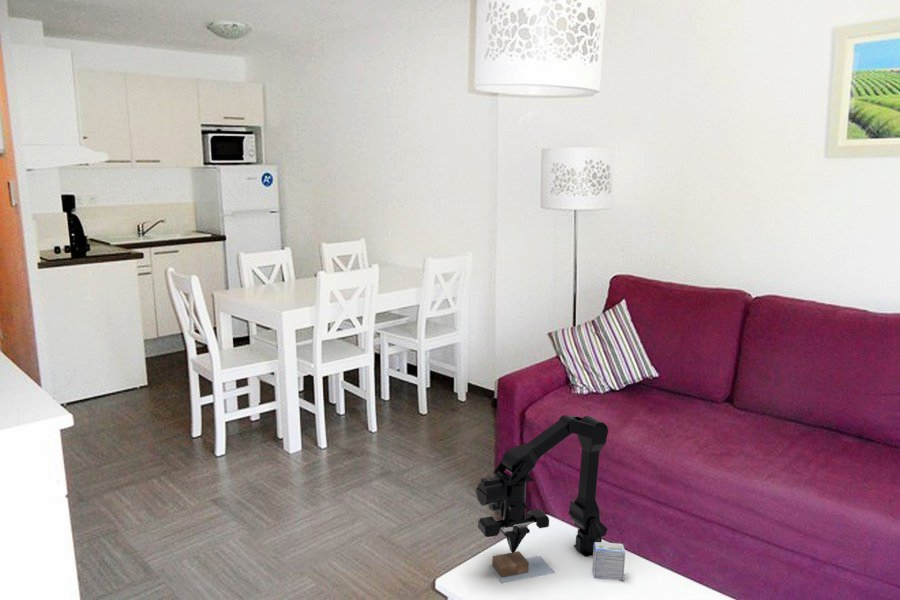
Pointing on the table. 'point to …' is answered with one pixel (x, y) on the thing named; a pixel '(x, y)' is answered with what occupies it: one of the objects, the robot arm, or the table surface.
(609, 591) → the table surface
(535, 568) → the mat
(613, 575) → the medicine box
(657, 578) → the table surface
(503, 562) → the walnut tile
